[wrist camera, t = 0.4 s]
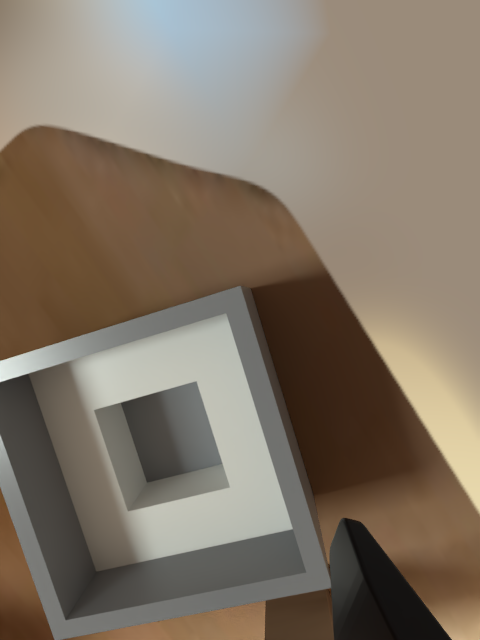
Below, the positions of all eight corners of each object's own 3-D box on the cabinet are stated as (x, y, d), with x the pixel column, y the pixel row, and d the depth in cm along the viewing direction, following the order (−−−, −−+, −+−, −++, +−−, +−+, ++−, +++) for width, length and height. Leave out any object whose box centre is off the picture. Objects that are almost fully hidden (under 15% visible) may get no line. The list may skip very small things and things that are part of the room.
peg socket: (313, 496, 22) (332, 587, 15) (117, 540, 24) (54, 640, 17) (250, 288, 22) (240, 285, 15) (53, 349, 23) (-40, 373, 16)
